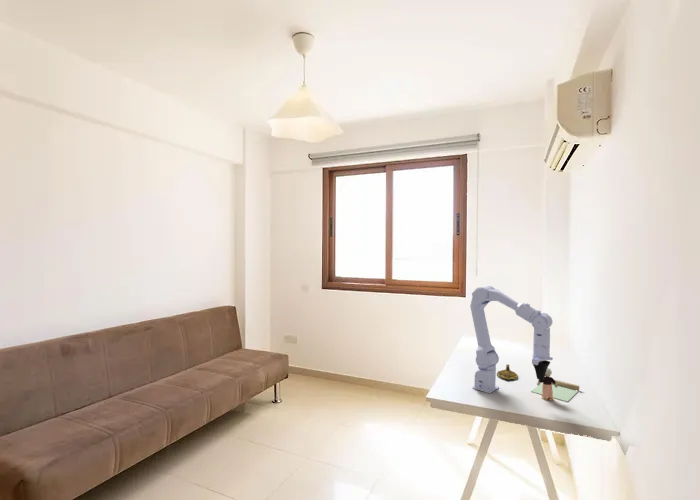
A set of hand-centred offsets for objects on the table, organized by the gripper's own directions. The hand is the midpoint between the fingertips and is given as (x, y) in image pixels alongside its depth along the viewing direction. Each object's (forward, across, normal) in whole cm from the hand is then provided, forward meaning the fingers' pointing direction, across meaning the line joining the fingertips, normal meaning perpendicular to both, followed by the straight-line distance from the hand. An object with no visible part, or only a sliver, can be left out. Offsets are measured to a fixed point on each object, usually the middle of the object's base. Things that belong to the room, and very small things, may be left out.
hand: (540, 379), depth 145 cm
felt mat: (+10, +19, 0) cm, 21 cm away
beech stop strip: (+10, +28, 0) cm, 30 cm away
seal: (+10, +23, +22) cm, 34 cm away
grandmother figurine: (+10, +8, 0) cm, 13 cm away
